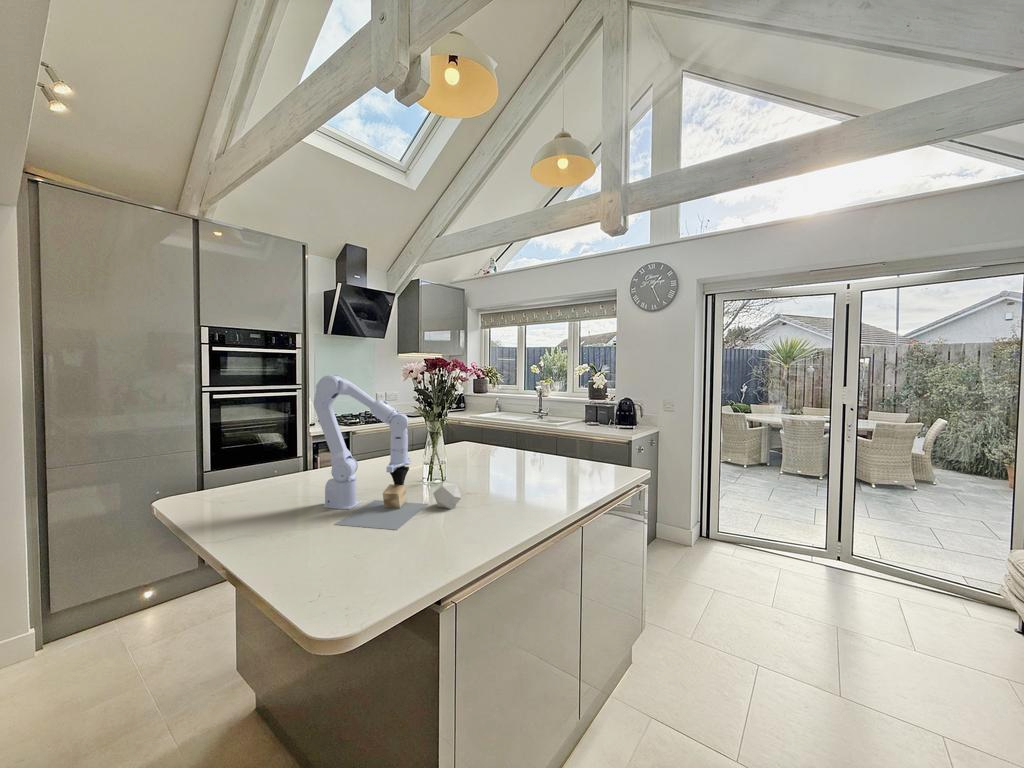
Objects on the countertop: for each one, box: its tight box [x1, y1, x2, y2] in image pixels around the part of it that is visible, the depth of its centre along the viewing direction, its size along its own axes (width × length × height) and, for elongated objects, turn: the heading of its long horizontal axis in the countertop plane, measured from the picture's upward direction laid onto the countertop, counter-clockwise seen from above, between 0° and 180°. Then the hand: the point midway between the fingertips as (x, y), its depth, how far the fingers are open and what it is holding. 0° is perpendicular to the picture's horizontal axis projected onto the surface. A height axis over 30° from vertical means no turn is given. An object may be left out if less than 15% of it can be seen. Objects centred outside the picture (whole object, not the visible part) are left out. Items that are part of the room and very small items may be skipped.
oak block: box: [382, 484, 408, 509], centre depth 142 cm, size 6×6×6 cm
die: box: [432, 482, 462, 510], centre depth 142 cm, size 8×9×10 cm
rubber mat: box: [333, 499, 429, 531], centre depth 135 cm, size 20×24×1 cm
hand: (399, 488), depth 145 cm, fingers closed
